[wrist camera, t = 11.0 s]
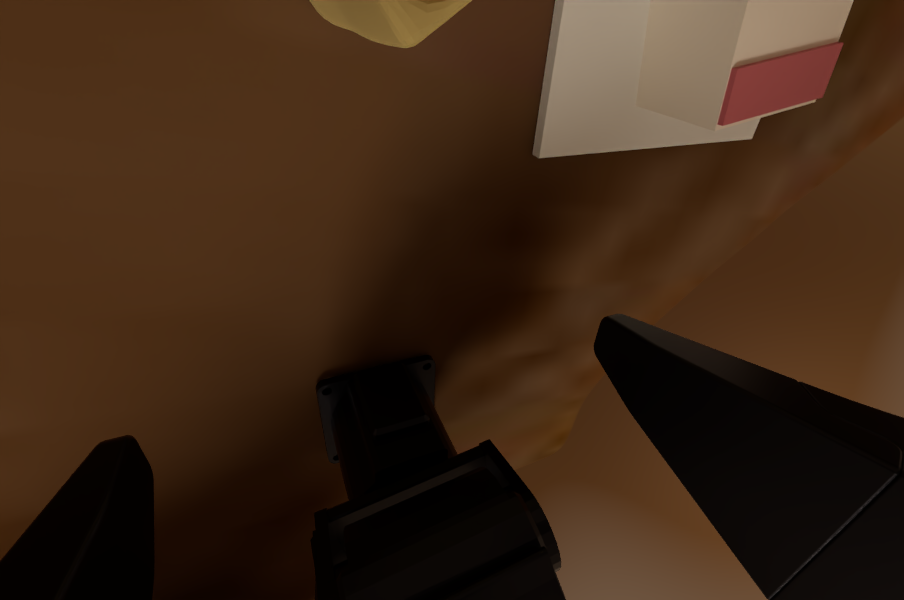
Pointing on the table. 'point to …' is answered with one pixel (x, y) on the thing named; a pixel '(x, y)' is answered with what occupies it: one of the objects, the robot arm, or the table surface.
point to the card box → (738, 57)
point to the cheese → (389, 18)
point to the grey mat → (606, 86)
